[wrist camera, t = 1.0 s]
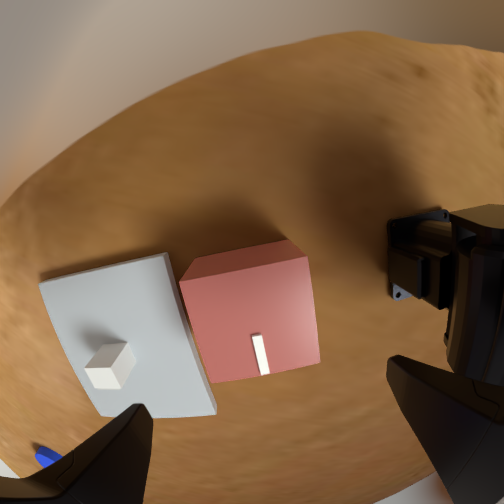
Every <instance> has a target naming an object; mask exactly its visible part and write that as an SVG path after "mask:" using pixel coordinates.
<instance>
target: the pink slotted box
mask: <svg viewBox="0 0 504 504" xmlns="http://www.w3.org/2000/svg"><path fill="white" fill-rule="evenodd" d="M179 284H180V288H181V291H182V295H183V298H184V302H185V305H186V309H187V312H188V315H189V318H190V322H191V325H192V328H193V331H194V334H195V338H196V341H197V344H198V347H199V350H200V353H201V356H202V358H203V361H204V364H205V367H206V370H207V373H208V376H209V378H210V381H211V383H218V382H225V381H232V380H239V379H245V378H251V377H256V376H262V375H267V374H272V373H277V372H282V371H287V370H291V369H296V368H300V367H304V366H308V365H312V364H316V363H320V355H319V344H318V335H317V325H316V317H315V308H314V300H313V292H312V285H311V277H310V270H309V263H308V256H307V255H306V254H304V253H303V252H302V251H301V250H300V249H299V248H298V247H297V246H295V245H294V244H293V243H292V242H291V241H290V240H289V239H287V240H282V241H277V242H272V243H267V244H262V245H257V246H252V247H247V248H242V249H237V250H232V251H227V252H222V253H217V254H212V255H208V256H203V257H198V258H195V259H194V260H193V262H192V263H191V265H190V266H189V268H188V269H187V271H186V272H185V274H184V275H183V277H182V278H181V280H180V281H179Z"/></svg>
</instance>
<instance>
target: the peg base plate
mask: <svg viewBox="0 0 504 504" xmlns="http://www.w3.org/2000/svg"><path fill="white" fill-rule="evenodd" d="M38 285H39V288H40V291H41V294H42V297H43V300H44V303H45V306H46V309H47V311H48V314H49V316H50V319H51V321H52V324H53V326H54V329H55V331H56V334H57V336H58V338H59V340H60V343H61V345H62V347H63V349H64V351H65V353H66V355H67V357H68V359H69V361H70V363H71V365H72V367H73V369H74V371H75V373H76V375H77V377H78V379H79V380H80V382H81V384H82V386H83V388H84V389H85V391H86V393H87V394H88V396H89V398H90V399H91V401H92V403H93V404H94V406H95V407H96V409H97V410H98V412H99V414H100V415H101V416H108V417H117V416H118V415H119V414H120V413H122V412H123V411H124V410H126V409H127V408H128V407H129V406H131V405H132V404H133V403H143V404H144V405H145V406H146V408H147V410H148V411H149V413H150V415H151V416H152V418H175V417H193V416H206V415H216V412H217V404H216V402H215V399H214V397H213V394H212V391H211V389H210V386H209V384H208V381H207V378H206V375H205V373H204V370H203V367H202V364H201V362H200V359H199V356H198V353H197V350H196V347H195V344H194V341H193V338H192V335H191V332H190V329H189V326H188V322H187V319H186V316H185V313H184V310H183V306H182V303H181V299H180V296H179V293H178V289H177V285H176V282H175V278H174V275H173V271H172V267H171V263H170V259H169V255H168V252H165V253H161V254H156V255H151V256H147V257H142V258H138V259H133V260H129V261H125V262H120V263H116V264H111V265H107V266H103V267H98V268H94V269H90V270H85V271H81V272H77V273H73V274H68V275H64V276H60V277H56V278H52V279H48V280H45V281H43V282H41V283H39V284H38Z"/></svg>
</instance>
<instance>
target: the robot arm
mask: <svg viewBox="0 0 504 504" xmlns="http://www.w3.org/2000/svg"><path fill="white" fill-rule="evenodd" d="M443 214H444V217H443ZM450 222H451V223H450ZM393 223H395V227H394V228H393V227H392V225H393ZM387 231H388V242H389V248H388V264H389V280H390V281H391V297H392V299H394V300H396V301H399V300H402V299H405V298H408V297H411V296H414V297H416V298H417V299H423V300H425V301H426V302H428V303H429V304H431V305H432V306H434V307H436V308H437V309H439V310H442V309H444V308H446V309H447V310H449V313H448V322H447V329H446V333H445V334H444V343H445V345H446V347H447V350H446V354H447V362H448V363H449V365H450V367H451V368H452V370H453V372H454V373H452V372H449V371H446V370H443V369H440V368H436V367H433V366H430V365H427V364H425V363H422V362H419V361H416V360H413V359H410V358H407V357H404V356H401V355H395V356H392V357H390V358H389V359H388V361H387V372H386V377H387V381H388V383H389V385H390V387H391V390H392V392H393V394H394V396H395V398H396V401H397V403H398V405H399V407H400V409H401V411H402V413H403V415H404V416H405V418H406V420H407V421H408V423H409V425H410V426H411V428H412V430H413V431H414V433H415V435H416V436H417V438H418V440H419V441H420V443H421V445H422V447H423V448H424V450H425V452H426V453H427V455H428V457H429V459H430V460H431V462H432V464H433V466H434V468H435V469H436V471H437V473H438V475H439V476H440V478H441V480H442V482H443V484H444V486H445V488H446V489H447V491H448V493H449V495H450V497H451V499H452V501H453V503H454V504H504V205H494V204H488V205H483V206H478V207H473V208H468V209H463V210H458V211H453V212H448V211H447V210H445V209H440V210H435V211H429V212H424V213H419V214H414V215H408V216H403V217H398V218H393V219H390V220H389V221H388V223H387ZM397 293H398V295H397V296H396V294H397ZM152 434H153V419H152V416H151V415H150V413H149V411H148V410H147V408H146V406H145V405H144V404H143V403H133V404H132V405H131V406H129V407H128V408H127V409H126V410H124V411H123V412H122V413H120V414H119V415H118V416H117V417H115V418H114V419H113V420H112V421H110V422H109V423H108V424H106V425H105V426H104V427H103V428H101V429H100V430H99V431H97V432H96V433H95V434H93V435H92V436H91V437H89V438H88V439H87V440H85V441H84V442H83V443H81V444H80V445H79V446H77V447H76V448H75V449H74V450H72V451H70V452H69V453H68V454H66V455H65V456H63V457H62V458H60V459H59V460H57V461H56V462H54V463H52V464H51V465H49V466H47V467H45V468H44V469H42V470H40V471H38V472H36V473H35V474H33V475H31V476H29V477H26V478H19V479H16V478H8V477H2V476H0V504H143V498H144V491H145V485H146V480H147V474H148V468H149V463H150V457H151V448H152Z"/></svg>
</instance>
